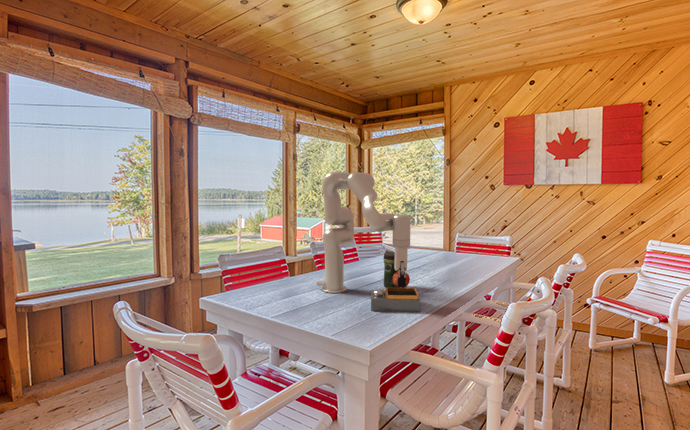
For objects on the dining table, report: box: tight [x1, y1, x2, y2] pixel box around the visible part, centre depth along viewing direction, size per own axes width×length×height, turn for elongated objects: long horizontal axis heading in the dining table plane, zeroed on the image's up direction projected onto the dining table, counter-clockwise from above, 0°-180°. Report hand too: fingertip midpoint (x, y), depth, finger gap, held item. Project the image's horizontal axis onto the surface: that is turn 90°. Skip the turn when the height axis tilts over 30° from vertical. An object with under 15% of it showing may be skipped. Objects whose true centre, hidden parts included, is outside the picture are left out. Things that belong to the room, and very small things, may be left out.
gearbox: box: [370, 287, 421, 313], centre depth 150 cm, size 20×14×6 cm
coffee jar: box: [383, 251, 399, 288], centre depth 182 cm, size 10×8×19 cm
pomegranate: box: [393, 272, 411, 288], centre depth 149 cm, size 7×7×10 cm
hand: (401, 284), depth 149 cm, fingers closed on pomegranate, 7 cm apart
